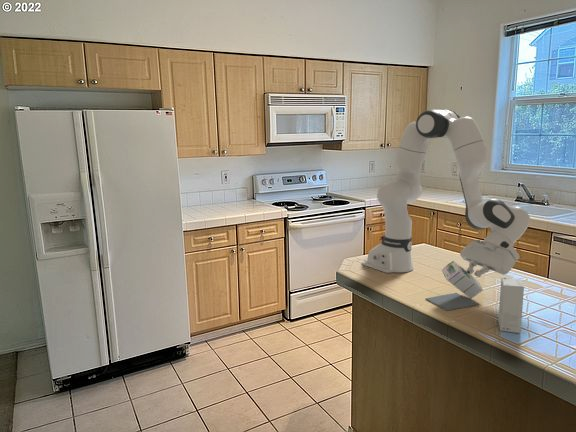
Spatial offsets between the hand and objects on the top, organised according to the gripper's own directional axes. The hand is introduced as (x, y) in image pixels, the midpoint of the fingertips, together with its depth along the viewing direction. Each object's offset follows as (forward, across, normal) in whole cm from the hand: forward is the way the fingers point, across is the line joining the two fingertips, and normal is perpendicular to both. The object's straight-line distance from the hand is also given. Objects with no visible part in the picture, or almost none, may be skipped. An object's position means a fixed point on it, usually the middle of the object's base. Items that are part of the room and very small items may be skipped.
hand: (472, 274), depth 156 cm
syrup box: (+3, -1, +6) cm, 7 cm away
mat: (+13, 0, +1) cm, 13 cm away
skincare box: (+11, +22, +3) cm, 25 cm away
